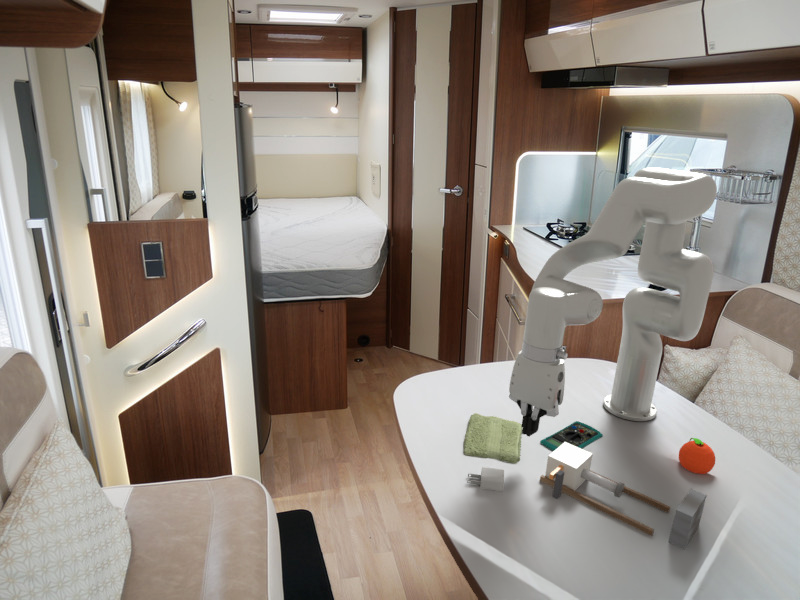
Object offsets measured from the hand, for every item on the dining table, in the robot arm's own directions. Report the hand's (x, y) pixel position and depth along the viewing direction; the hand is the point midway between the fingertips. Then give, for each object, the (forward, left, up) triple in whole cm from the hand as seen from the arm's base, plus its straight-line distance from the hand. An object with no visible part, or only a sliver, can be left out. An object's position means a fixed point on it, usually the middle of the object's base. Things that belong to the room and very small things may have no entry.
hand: (529, 432), depth 121 cm
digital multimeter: (-15, +3, -9) cm, 17 cm away
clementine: (-25, +26, -8) cm, 37 cm away
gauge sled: (+1, +13, -7) cm, 15 cm away
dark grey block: (+6, +10, -7) cm, 14 cm away
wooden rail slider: (0, +18, -8) cm, 20 cm away
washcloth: (-3, -10, -9) cm, 13 cm away
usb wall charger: (+12, -2, -8) cm, 15 cm away
